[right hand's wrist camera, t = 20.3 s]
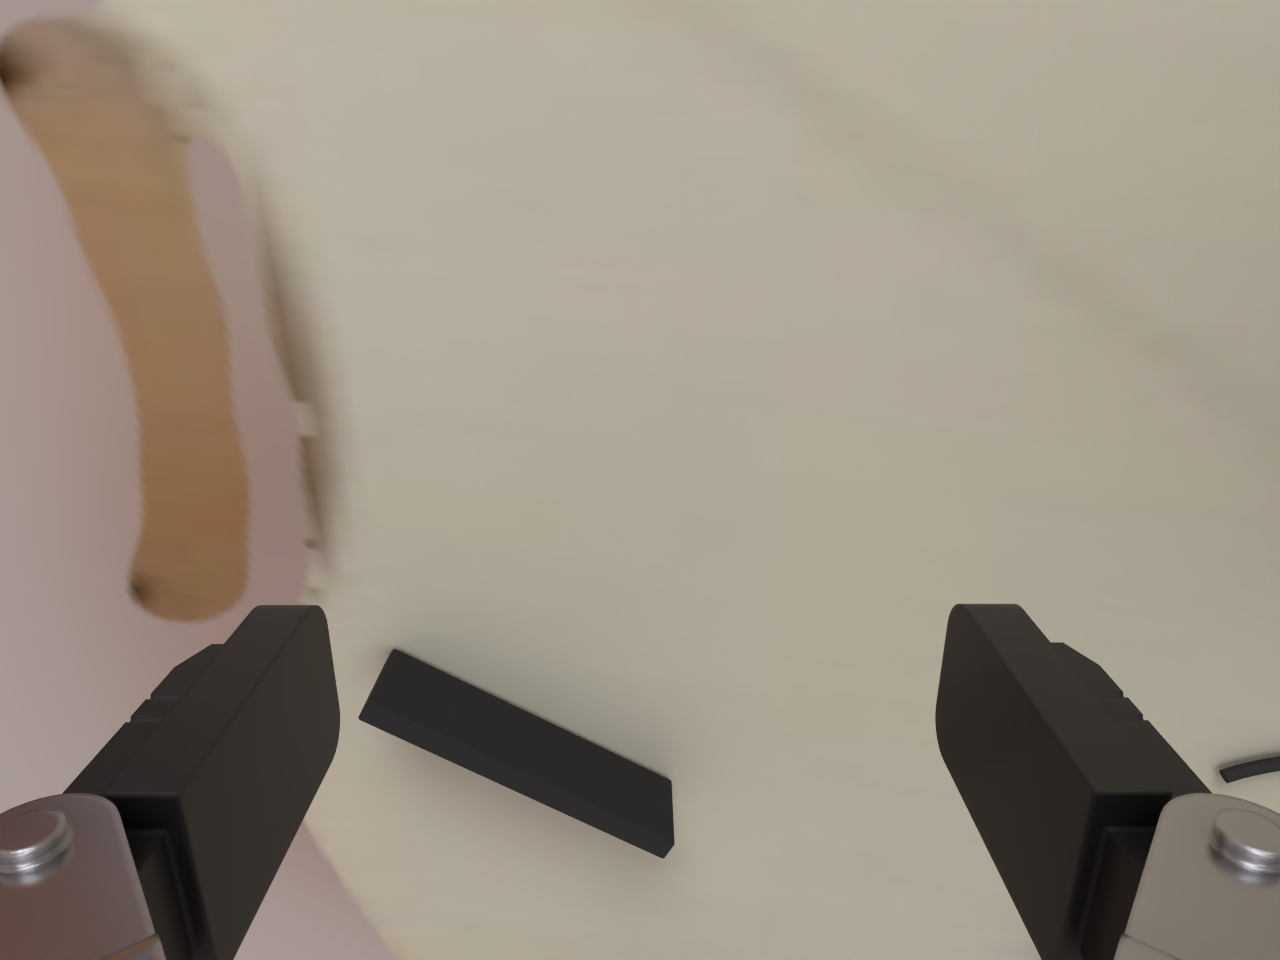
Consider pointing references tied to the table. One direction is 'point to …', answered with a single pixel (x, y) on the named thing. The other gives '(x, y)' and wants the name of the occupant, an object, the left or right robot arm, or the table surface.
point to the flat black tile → (521, 752)
